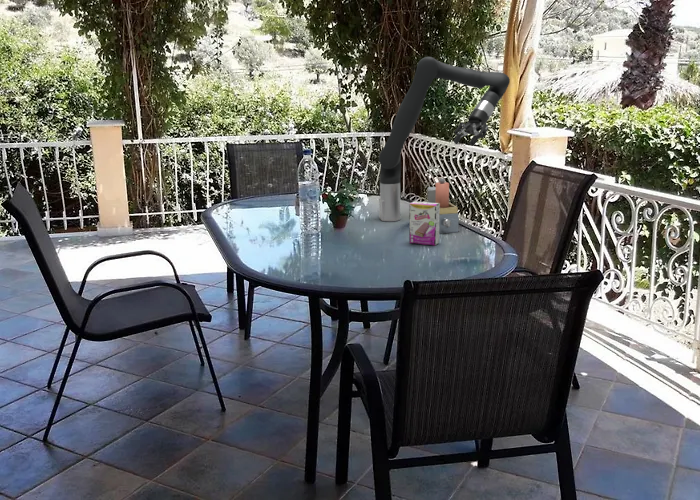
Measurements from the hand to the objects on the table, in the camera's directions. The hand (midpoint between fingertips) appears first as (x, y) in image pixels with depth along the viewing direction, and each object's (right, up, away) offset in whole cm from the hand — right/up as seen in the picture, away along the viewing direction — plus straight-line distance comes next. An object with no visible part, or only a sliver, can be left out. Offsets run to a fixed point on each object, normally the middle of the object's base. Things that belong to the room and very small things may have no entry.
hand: (463, 143), depth 270 cm
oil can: (-8, -27, +8) cm, 30 cm away
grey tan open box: (-8, -35, +10) cm, 37 cm away
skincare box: (-8, -32, +24) cm, 40 cm away
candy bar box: (-17, -42, -11) cm, 47 cm away
